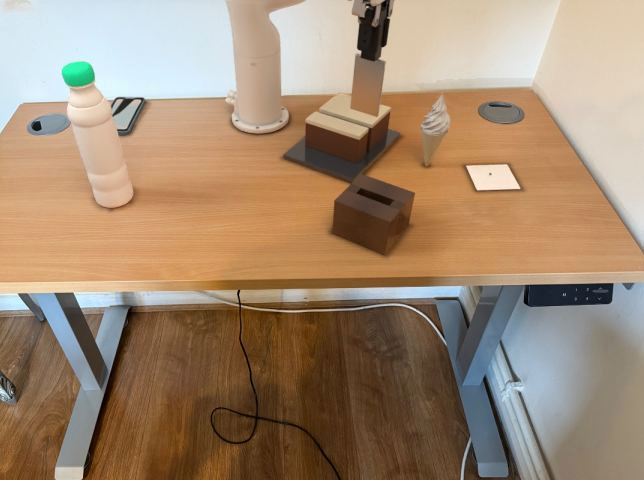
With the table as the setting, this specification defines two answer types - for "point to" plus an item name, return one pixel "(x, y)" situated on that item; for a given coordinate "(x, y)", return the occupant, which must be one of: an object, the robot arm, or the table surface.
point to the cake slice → (336, 137)
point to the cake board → (335, 164)
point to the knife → (369, 76)
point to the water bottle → (96, 137)
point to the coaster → (492, 177)
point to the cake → (359, 117)
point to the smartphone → (126, 112)
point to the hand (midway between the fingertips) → (371, 47)
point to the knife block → (372, 213)
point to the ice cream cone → (434, 128)
